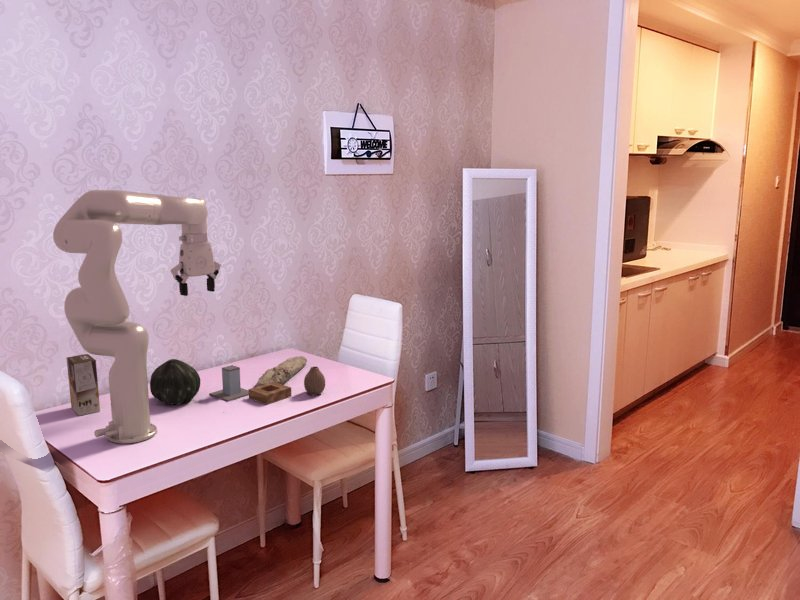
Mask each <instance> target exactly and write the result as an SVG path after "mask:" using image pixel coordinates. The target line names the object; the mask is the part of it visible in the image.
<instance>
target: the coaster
mask: <svg viewBox="0 0 800 600" xmlns="http://www.w3.org/2000/svg"><path fill="white" fill-rule="evenodd" d="M208 394H209V395H210V396H212V397H215V398H218V399H221V400H224V401H226V402H232V401H235V400H237V399H240V398H243V397H246V396H249V391H248V389H245V388H242V387H241V393H238V394H234V395H231V396H230V395H227V394H224V393H223V388H222V389H219V390H216V391H213V392H210V393H208Z"/></svg>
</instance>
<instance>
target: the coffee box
mask: <svg viewBox="0 0 800 600" xmlns="http://www.w3.org/2000/svg"><path fill="white" fill-rule="evenodd" d="M66 366H67V376H68V377H67V378H68V388H69V397H70V406H71V410H72V411H74V412H75V414H77V416H79V417H80V416H84V415H89V414H94V413H99V412H100V411H101V407H100V405H101V404H100V393H99V391H100V390H99V383H98V382H99V381H98V369H97V360H96V359H95V358H94V357H92V356H91V354H89V353H85V354H78V355H72V356H68V357H66Z"/></svg>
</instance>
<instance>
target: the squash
mask: <svg viewBox="0 0 800 600" xmlns="http://www.w3.org/2000/svg"><path fill="white" fill-rule="evenodd" d="M149 380H150V381H149V389H150V394H151V395H152V396H153V398H154V399H156V400H158V401H159V402H160V403H161V402H162V403H164V404H166V405H167V406H172V405H174V404H175V405H181V404H182V403H188V402H191V401H192V400H193V399H194V398H195V396H197V395H198V393H199V391H200V388H201V377H200V374H199V373H198V371H197V370H196V369H195V368H194V367H193V366H191V365H190V364H188V363H186V362H184V361H182V360H180V359H176V358H171V359H168V360H166V361H165V362H163V363H161V364H160V365H159V366H157V368H155V369H154V370H153V372H152V374H151V376H150V379H149Z"/></svg>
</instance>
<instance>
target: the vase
mask: <svg viewBox="0 0 800 600" xmlns="http://www.w3.org/2000/svg"><path fill="white" fill-rule="evenodd" d="M303 387H304V390H305V392H306V393H307V394H308V395H311V396H319V395H321V394H322V393H323V392H324V391H325V389H326V379H325V376H324V374H323V373H322V372H321V370H320V368H319V367H318V366H311V367H310V368H309V370H308V372H307V373H306V375H305V376H304V380H303Z"/></svg>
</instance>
